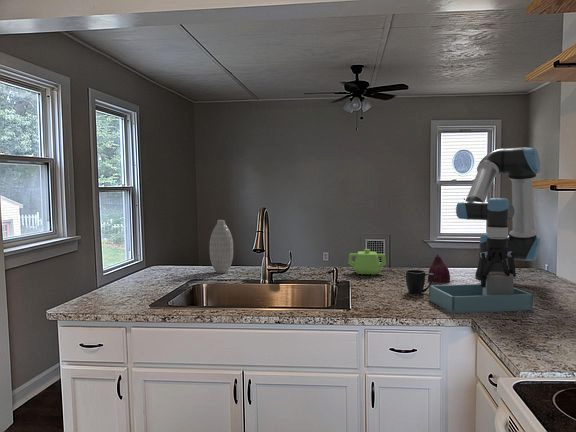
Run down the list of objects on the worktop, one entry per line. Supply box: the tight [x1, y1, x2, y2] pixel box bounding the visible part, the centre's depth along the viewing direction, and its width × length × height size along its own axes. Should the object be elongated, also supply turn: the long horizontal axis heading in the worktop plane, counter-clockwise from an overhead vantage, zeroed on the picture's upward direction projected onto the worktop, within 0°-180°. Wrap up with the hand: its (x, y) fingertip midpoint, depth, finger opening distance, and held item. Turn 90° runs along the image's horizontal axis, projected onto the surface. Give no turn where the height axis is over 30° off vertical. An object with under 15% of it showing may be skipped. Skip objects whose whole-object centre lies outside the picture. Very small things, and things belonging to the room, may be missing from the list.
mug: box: [405, 269, 434, 295], centre depth 206 cm, size 8×12×10 cm
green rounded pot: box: [347, 248, 387, 276], centre depth 253 cm, size 18×20×13 cm
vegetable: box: [427, 253, 451, 284], centre depth 231 cm, size 10×10×15 cm
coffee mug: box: [486, 272, 514, 295], centre depth 187 cm, size 13×10×10 cm
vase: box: [208, 219, 234, 274], centre depth 255 cm, size 13×13×28 cm
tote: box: [428, 283, 534, 314], centre depth 186 cm, size 32×20×6 cm, turn 97°
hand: (495, 295), depth 187 cm, fingers closed on coffee mug, 8 cm apart
